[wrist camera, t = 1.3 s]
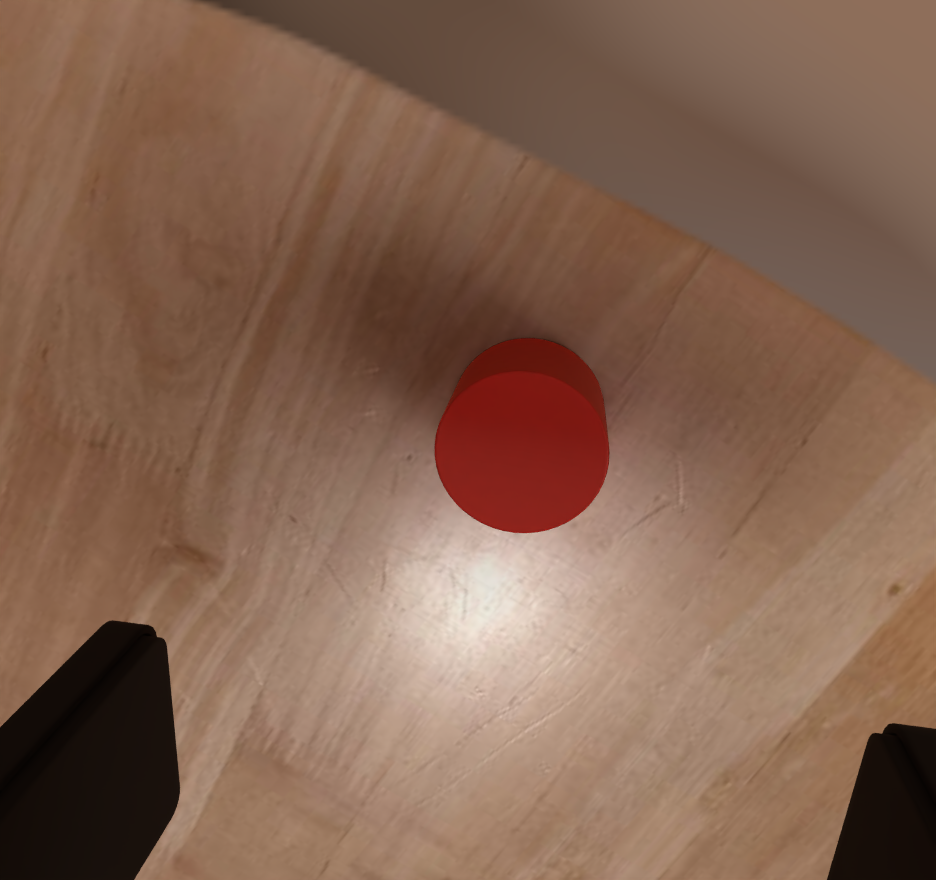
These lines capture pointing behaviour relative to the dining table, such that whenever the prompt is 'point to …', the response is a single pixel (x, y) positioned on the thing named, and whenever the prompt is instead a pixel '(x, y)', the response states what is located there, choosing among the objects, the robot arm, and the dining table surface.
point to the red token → (524, 437)
